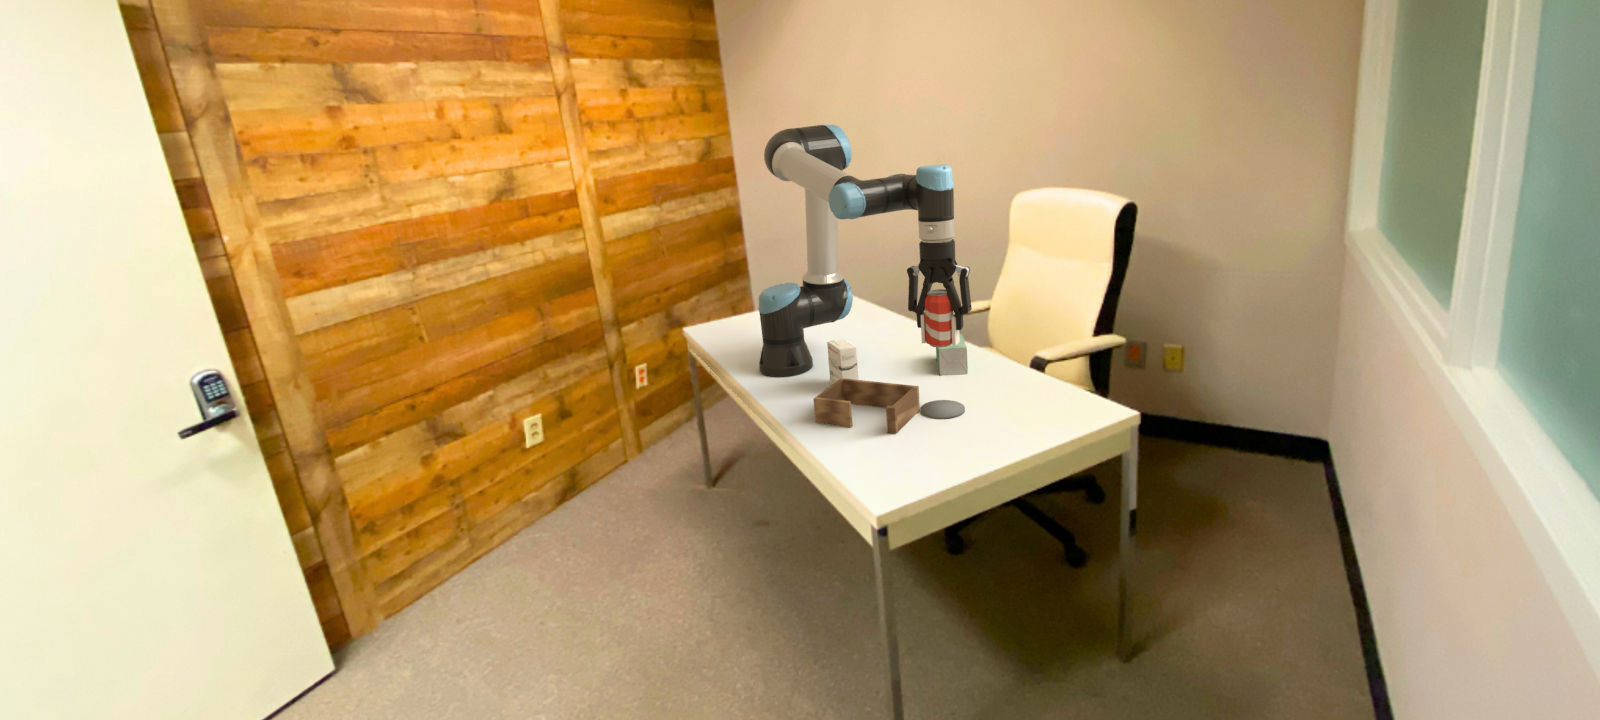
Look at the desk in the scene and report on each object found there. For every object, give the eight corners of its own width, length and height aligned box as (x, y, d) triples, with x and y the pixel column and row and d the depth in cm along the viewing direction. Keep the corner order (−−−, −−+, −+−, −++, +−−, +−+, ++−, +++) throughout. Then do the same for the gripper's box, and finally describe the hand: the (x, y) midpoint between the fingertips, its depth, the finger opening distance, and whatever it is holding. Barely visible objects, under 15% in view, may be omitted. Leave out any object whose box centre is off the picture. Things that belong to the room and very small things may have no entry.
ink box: (860, 390, 189) (857, 345, 185) (842, 394, 187) (838, 349, 184) (846, 380, 196) (843, 337, 193) (829, 384, 195) (825, 341, 191)
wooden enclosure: (815, 422, 171) (813, 398, 169) (842, 401, 183) (841, 378, 181) (896, 434, 161) (894, 408, 159) (919, 410, 173) (918, 386, 171)
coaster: (914, 415, 170) (914, 413, 170) (929, 400, 178) (929, 398, 178) (956, 421, 165) (956, 418, 165) (970, 404, 173) (970, 402, 173)
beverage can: (937, 350, 162) (935, 297, 159) (921, 343, 168) (918, 292, 164) (960, 345, 164) (958, 292, 161) (943, 338, 170) (942, 287, 166)
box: (963, 358, 205) (962, 332, 203) (968, 374, 193) (967, 347, 190) (936, 359, 206) (934, 334, 204) (939, 376, 194) (938, 349, 191)
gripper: (888, 242, 161) (893, 344, 168) (975, 242, 151) (978, 350, 158) (901, 236, 167) (906, 335, 174) (986, 236, 157) (988, 340, 164)
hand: (940, 342), depth 166 cm, fingers closed on beverage can, 6 cm apart
